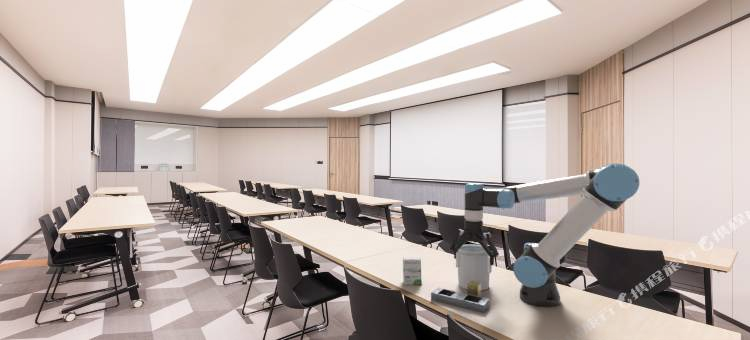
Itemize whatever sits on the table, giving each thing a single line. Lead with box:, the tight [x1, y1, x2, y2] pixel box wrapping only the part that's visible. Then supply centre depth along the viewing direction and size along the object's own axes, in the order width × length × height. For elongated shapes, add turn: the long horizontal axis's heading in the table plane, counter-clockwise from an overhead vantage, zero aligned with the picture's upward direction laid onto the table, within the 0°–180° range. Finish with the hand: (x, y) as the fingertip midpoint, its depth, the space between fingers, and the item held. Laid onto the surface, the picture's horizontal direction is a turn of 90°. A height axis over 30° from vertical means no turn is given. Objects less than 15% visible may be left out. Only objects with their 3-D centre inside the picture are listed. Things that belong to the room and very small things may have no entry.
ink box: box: [402, 256, 422, 286], centre depth 157 cm, size 9×5×12 cm, turn 84°
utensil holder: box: [457, 243, 490, 291], centre depth 153 cm, size 15×15×18 cm
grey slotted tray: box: [430, 286, 491, 314], centre depth 134 cm, size 22×7×3 cm, turn 54°
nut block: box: [466, 281, 482, 297], centre depth 139 cm, size 4×4×6 cm
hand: (473, 269), depth 139 cm, fingers open, 13 cm apart
